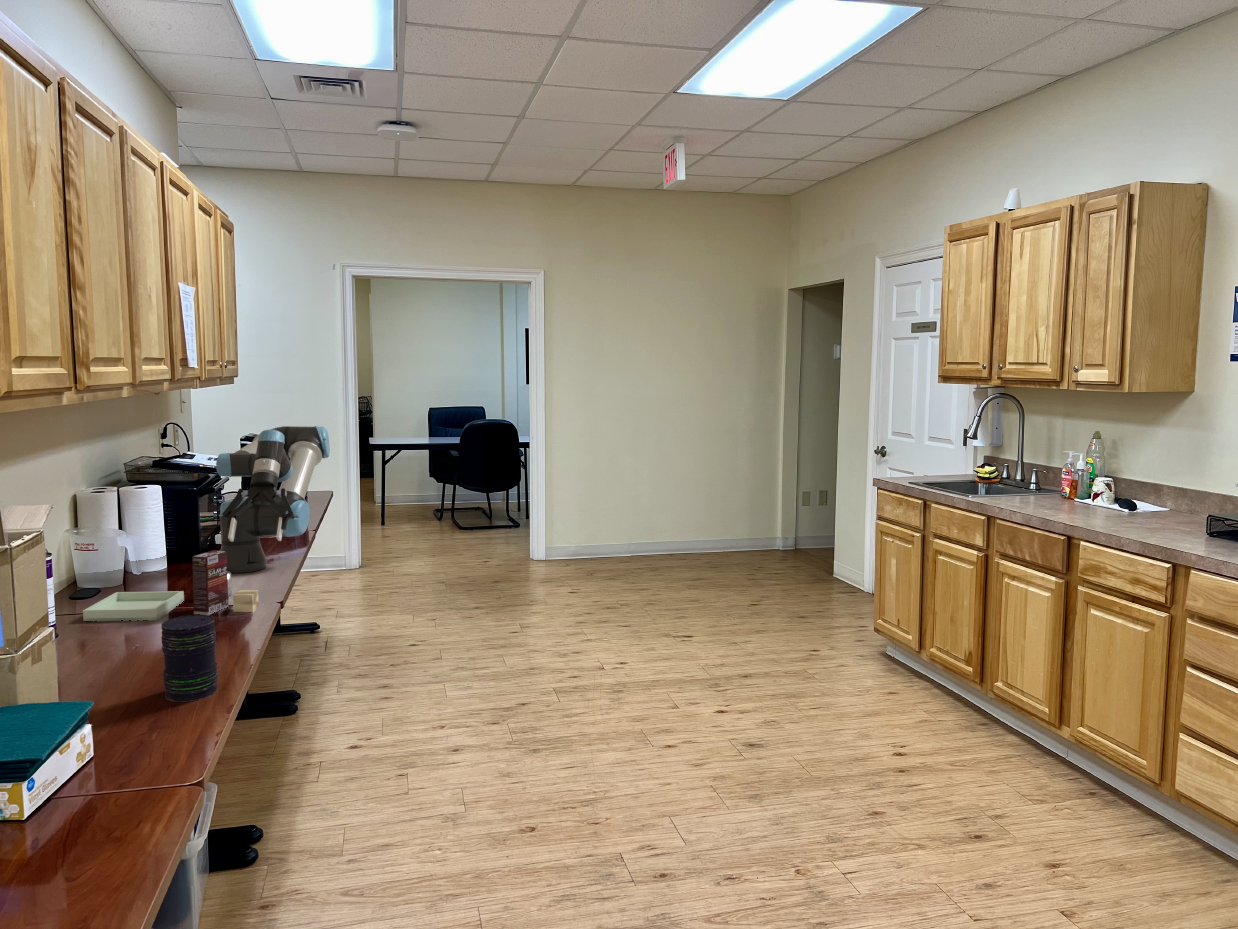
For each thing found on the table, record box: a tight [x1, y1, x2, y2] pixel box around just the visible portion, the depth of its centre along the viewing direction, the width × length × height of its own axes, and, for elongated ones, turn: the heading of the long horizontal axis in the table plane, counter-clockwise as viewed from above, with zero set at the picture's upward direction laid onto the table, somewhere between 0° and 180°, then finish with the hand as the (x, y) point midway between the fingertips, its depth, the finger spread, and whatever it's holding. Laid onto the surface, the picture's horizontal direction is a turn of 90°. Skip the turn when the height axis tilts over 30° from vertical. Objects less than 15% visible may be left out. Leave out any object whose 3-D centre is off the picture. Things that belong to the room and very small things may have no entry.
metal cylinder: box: [227, 571, 233, 599], centre depth 245 cm, size 5×5×7 cm
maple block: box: [232, 589, 260, 613], centre depth 232 cm, size 5×5×5 cm
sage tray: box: [82, 590, 185, 623], centre depth 230 cm, size 18×18×3 cm
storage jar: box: [160, 614, 219, 703], centre depth 173 cm, size 10×10×15 cm
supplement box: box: [191, 549, 229, 616], centre depth 230 cm, size 9×5×16 cm, turn 168°
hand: (254, 539), depth 251 cm, fingers open, 13 cm apart
